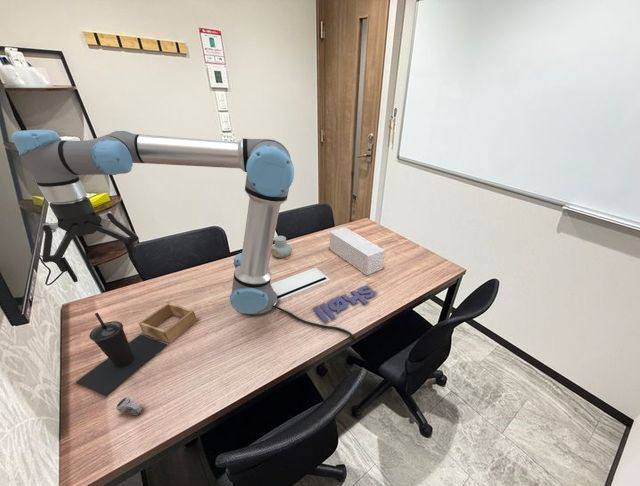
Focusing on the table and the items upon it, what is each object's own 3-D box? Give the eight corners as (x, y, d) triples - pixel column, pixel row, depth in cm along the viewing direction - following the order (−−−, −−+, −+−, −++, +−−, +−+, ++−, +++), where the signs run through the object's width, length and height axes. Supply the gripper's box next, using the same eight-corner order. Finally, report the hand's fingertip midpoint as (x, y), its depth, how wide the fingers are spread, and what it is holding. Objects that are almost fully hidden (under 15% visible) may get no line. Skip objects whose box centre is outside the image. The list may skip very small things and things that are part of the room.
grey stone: (126, 405, 78) (119, 394, 75) (148, 407, 78) (141, 396, 75) (116, 417, 75) (108, 406, 72) (138, 420, 75) (131, 409, 72)
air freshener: (268, 254, 150) (266, 237, 144) (280, 248, 155) (278, 232, 150) (283, 261, 144) (281, 244, 139) (294, 255, 150) (293, 238, 145)
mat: (167, 345, 96) (167, 344, 96) (106, 396, 80) (105, 394, 79) (140, 335, 99) (140, 334, 98) (77, 382, 83) (75, 381, 82)
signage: (366, 284, 129) (380, 296, 123) (366, 286, 130) (380, 297, 123) (312, 307, 115) (324, 321, 108) (312, 308, 115) (324, 322, 108)
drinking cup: (124, 373, 85) (94, 325, 74) (103, 368, 86) (70, 320, 76) (145, 354, 92) (120, 307, 81) (125, 349, 93) (98, 302, 82)
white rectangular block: (329, 249, 158) (329, 231, 152) (344, 244, 164) (345, 227, 158) (366, 275, 137) (368, 256, 132) (382, 268, 143) (384, 250, 137)
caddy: (197, 320, 106) (193, 310, 104) (170, 343, 97) (165, 332, 94) (172, 312, 109) (168, 302, 107) (143, 333, 100) (138, 323, 97)
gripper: (126, 186, 79) (153, 252, 91) (-5, 206, 65) (46, 281, 76) (132, 193, 75) (159, 261, 86) (-8, 216, 60) (47, 294, 72)
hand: (106, 271), depth 81 cm, fingers open, 13 cm apart
